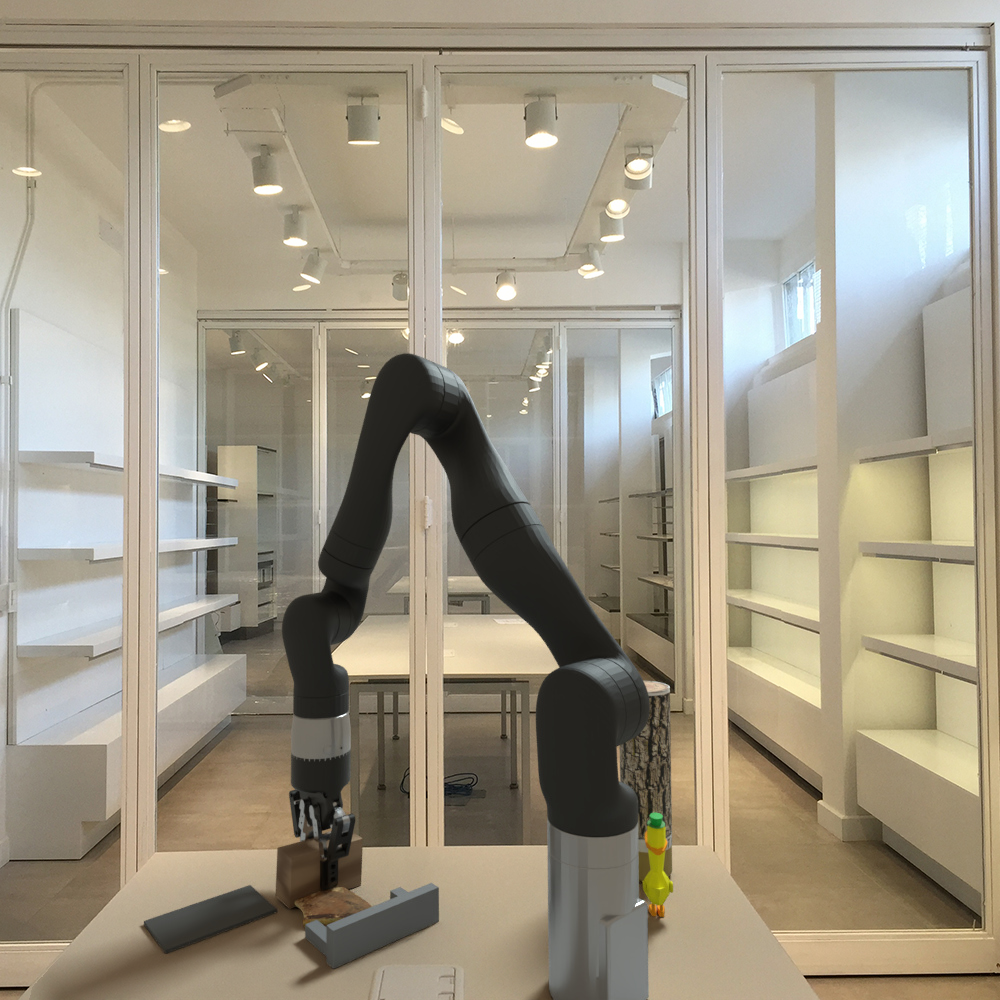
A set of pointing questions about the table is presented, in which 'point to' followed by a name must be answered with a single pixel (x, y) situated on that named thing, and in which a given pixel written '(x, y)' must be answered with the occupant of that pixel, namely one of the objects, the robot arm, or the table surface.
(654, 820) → the toy figure
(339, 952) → the dock
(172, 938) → the rest mat
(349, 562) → the robot arm
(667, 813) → the bark log stump
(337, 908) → the shard
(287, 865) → the block
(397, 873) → the table surface
